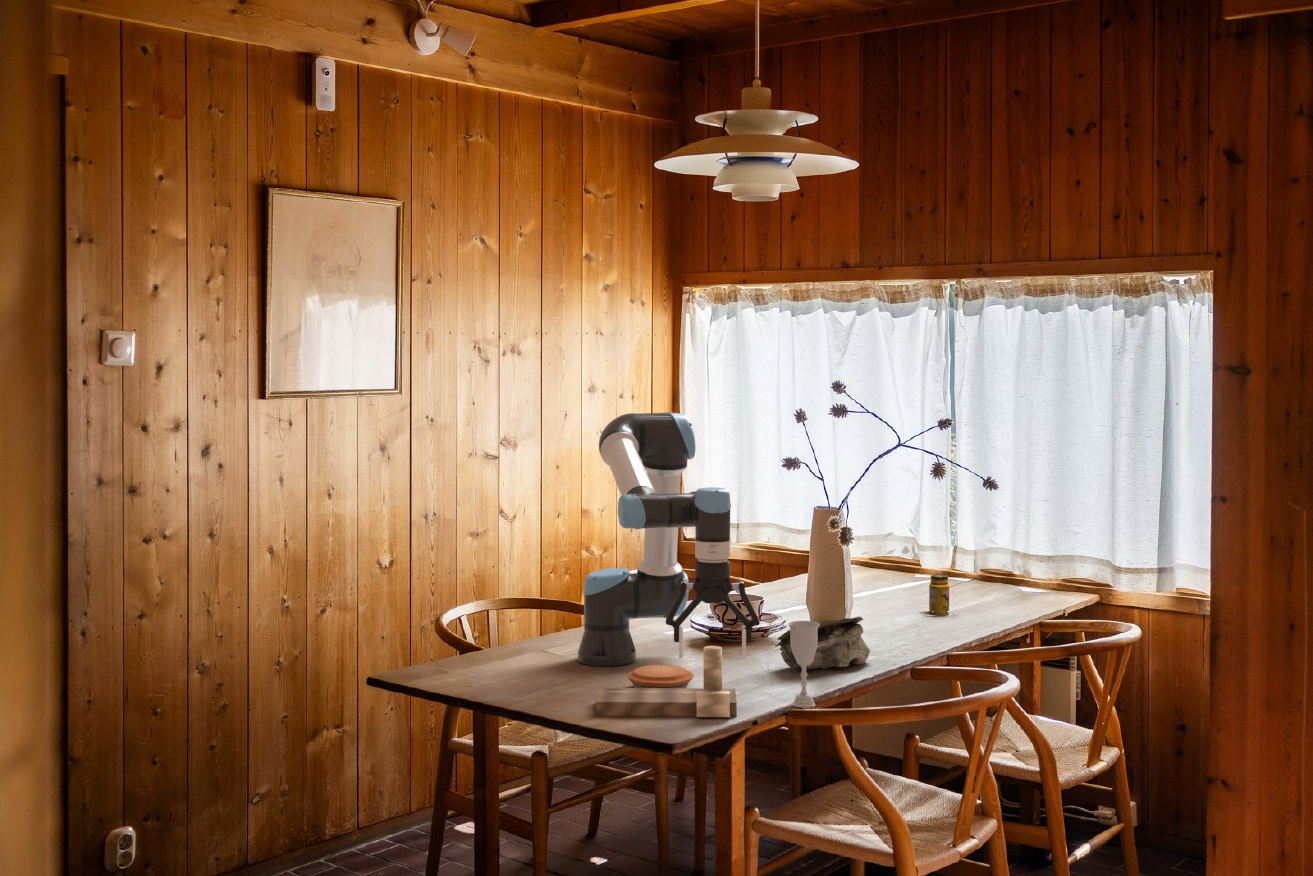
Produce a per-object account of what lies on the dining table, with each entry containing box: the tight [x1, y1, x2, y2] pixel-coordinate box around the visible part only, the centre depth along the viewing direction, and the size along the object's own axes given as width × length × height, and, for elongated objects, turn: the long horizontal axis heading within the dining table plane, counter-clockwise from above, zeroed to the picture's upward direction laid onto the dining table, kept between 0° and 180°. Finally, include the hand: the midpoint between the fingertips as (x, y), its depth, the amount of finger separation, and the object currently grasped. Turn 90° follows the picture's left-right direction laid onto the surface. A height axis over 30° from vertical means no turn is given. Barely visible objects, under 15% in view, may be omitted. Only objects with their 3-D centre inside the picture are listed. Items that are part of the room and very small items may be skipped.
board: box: [595, 687, 738, 718], centre depth 264 cm, size 30×12×3 cm, turn 88°
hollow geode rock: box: [774, 616, 871, 674], centre depth 301 cm, size 28×13×15 cm
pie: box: [627, 664, 695, 688], centre depth 281 cm, size 16×16×5 cm
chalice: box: [787, 620, 820, 709], centre depth 266 cm, size 7×7×18 cm
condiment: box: [918, 574, 954, 617], centre depth 373 cm, size 7×8×12 cm
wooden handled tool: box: [696, 645, 731, 718], centre depth 261 cm, size 7×11×14 cm, turn 178°
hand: (712, 657), depth 261 cm, fingers open, 13 cm apart
